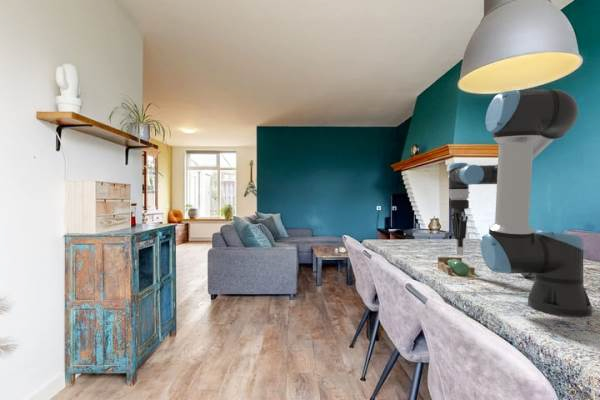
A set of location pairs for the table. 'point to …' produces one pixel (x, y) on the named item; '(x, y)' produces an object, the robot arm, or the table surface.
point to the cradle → (446, 269)
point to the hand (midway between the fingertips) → (459, 254)
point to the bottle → (458, 267)
